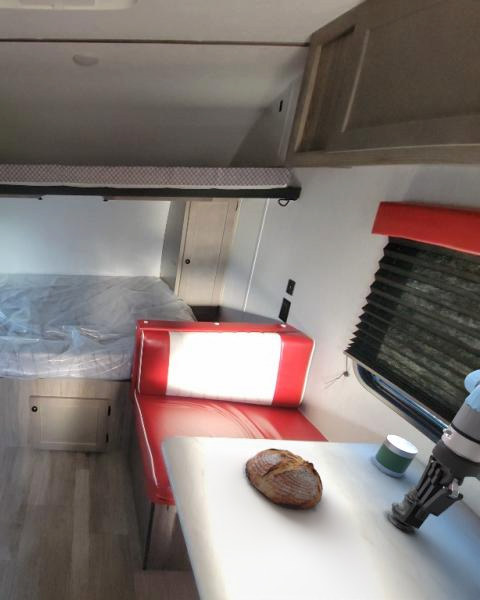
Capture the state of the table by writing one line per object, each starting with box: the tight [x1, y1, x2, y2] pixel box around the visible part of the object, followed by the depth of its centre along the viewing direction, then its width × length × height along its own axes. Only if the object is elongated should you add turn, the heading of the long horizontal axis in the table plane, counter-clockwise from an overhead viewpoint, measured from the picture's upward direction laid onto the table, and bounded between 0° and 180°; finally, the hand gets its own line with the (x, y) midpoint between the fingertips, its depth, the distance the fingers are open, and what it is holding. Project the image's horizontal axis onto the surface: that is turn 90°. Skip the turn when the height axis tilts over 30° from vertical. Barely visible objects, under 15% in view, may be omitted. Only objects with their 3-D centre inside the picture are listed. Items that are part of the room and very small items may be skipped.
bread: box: [244, 447, 324, 510], centre depth 90 cm, size 16×20×10 cm
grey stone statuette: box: [387, 484, 418, 534], centre depth 83 cm, size 6×6×12 cm
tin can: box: [372, 434, 419, 478], centre depth 100 cm, size 7×7×10 cm
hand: (410, 523), depth 81 cm, fingers closed
